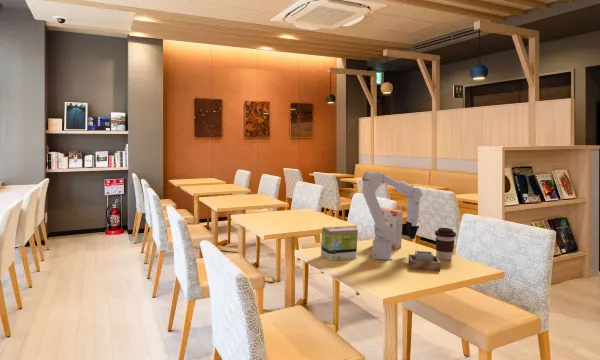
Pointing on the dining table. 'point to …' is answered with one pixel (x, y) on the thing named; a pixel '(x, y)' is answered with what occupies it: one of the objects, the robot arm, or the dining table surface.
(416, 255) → the grey crate
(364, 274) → the dining table surface
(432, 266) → the walnut crate
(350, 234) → the tea box
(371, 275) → the dining table surface
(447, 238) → the coffee cup
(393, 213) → the cracker box
